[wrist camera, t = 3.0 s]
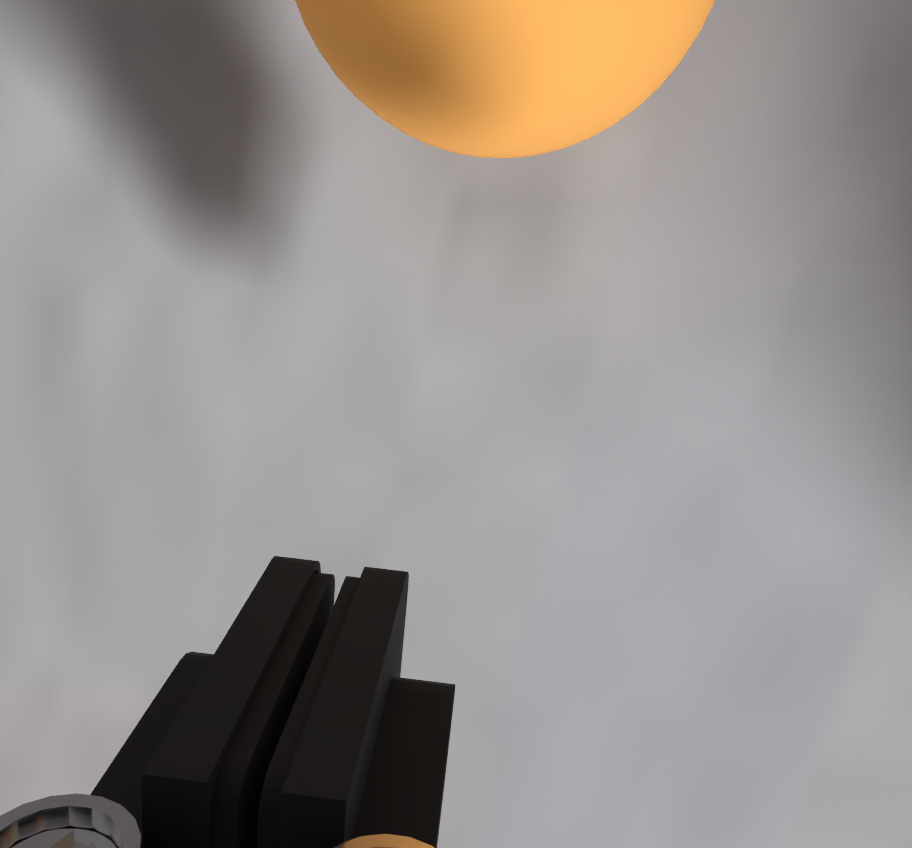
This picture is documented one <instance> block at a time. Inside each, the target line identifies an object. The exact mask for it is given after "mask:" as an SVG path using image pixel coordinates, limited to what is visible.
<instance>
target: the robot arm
mask: <svg viewBox="0 0 912 848" xmlns="http://www.w3.org/2000/svg"><path fill="white" fill-rule="evenodd" d="M408 578H409V575H408V572H404V571H396V570H387V569H379V568H370V567H365V568H364V570H363V572H362V575H361V577H360V578H357V577H349V576H346V578H345V580H344V582H343V585H342V587H341V590H340V592H339V595H338V597H337V600H336V602H335V604H334V591H335V577H334V575H332V574H324V573H321V569H320V563H319V561H312V560H303V559H295V558H287V557H278V556H274V557H273V559H272V560H271V562H270V563H269V565H268V566H267V568H266V570H265V571H264V573H263V575H262V576H261V578H260V580H259V581H258V583H257V585H256V586H255V588H254V590H253V591H252V593H251V594H250V596H249V598H248V599H247V601H246V603H245V604H244V606H243V608H242V609H241V611H240V613H239V614H238V616H237V618H236V619H235V621H234V622H233V624H232V626H231V627H230V629H229V631H228V632H227V634H226V636H225V637H224V639H223V641H222V642H221V644H220V646H219V647H218V649H217V651H216V652H215V654H214V655H213V654H205V653H197V652H190V653H186V654H185V655H184V657H183V658H182V659H181V660H180V661H179V663H178V664H177V666H176V667H175V669H174V670H173V672H172V673H171V675H170V676H169V678H168V679H167V681H166V682H165V684H164V685H163V687H162V688H161V690H160V691H159V693H158V694H157V696H156V697H155V699H154V700H153V702H152V703H151V705H150V706H149V708H148V709H147V711H146V712H145V714H144V715H143V717H142V718H141V720H140V721H139V723H138V724H137V726H136V727H135V729H134V730H133V732H132V733H131V735H130V736H129V738H128V739H127V741H126V742H125V744H124V745H123V747H122V748H121V750H120V751H119V753H118V754H117V756H116V757H115V759H114V760H113V762H112V763H111V765H110V766H109V768H108V769H107V771H106V772H105V774H104V775H103V777H102V778H101V780H100V781H99V783H98V784H97V786H96V787H95V789H94V790H93V792H92V793H91V795H85V794H68V795H57V796H49V797H46V798H43V799H39V800H36V801H32V802H29V803H25V804H23V805H21V806H19V807H17V808H15V809H13V810H11V811H9V812H7V813H5V814H3V815H1V816H0V848H437V842H438V834H439V825H440V817H441V808H442V800H443V791H444V782H445V773H446V765H447V756H448V747H449V738H450V729H451V720H452V711H453V702H454V693H455V684H447V683H439V682H431V681H423V680H415V679H406V678H400V672H401V661H402V649H403V638H404V627H405V616H406V604H407V593H408Z"/></svg>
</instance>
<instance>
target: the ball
mask: <svg viewBox="0 0 912 848" xmlns="http://www.w3.org/2000/svg"><path fill="white" fill-rule="evenodd" d="M295 1H296V3H297V6H298V8H299V11H300V14H301V16H302V19H303V21H304V24H305V26H306V28H307V29H308V31H309V33H310V35H311V37H312V39H313V41H314V43H315V44H316V46H317V48H318V50H319V52H320V53H321V54H322V56H323V57H324V59H325V60H326V62H327V63H328V64H329V66H330V67H331V69H332V70H333V72H334V73H335V75H336V76H337V77H338V78H339V79H340V80H341V81H342V82H343V83H344V84H345V86H346V87H347V88H348V89H349V90H350V91H351V92H352V93H353V94H354V96H355V97H357V98H358V99H359V100H360V101H361V102H362V103H364V104H365V105H366V106H367V107H368V108H369V109H371V110H372V111H373V112H374V113H375V114H376V115H378V116H379V117H380V118H382V119H383V120H385V121H386V122H388V123H390V124H391V125H393V126H394V127H396V128H397V129H399V130H400V131H402V132H403V133H405V134H407V135H409V136H412V137H414V138H416V139H418V140H420V141H422V142H424V143H426V144H428V145H432V146H435V147H438V148H441V149H444V150H447V151H450V152H454V153H459V154H465V155H471V156H476V157H488V158H514V157H524V156H533V155H538V154H543V153H547V152H551V151H555V150H559V149H563V148H565V147H568V146H570V145H573V144H576V143H578V142H581V141H583V140H586V139H588V138H590V137H592V136H594V135H596V134H598V133H599V132H601V131H603V130H605V129H607V128H608V127H610V126H612V125H614V124H615V123H617V122H618V121H619V120H621V119H622V118H624V117H625V116H626V115H628V114H629V113H630V112H632V111H633V110H635V109H636V108H637V107H638V106H639V105H641V104H642V103H643V102H644V101H645V100H646V99H647V98H648V97H649V96H650V95H651V94H652V93H653V92H654V91H656V90H657V89H658V88H659V87H660V86H661V84H662V83H663V82H664V81H665V80H666V78H667V77H668V76H669V75H670V74H671V73H672V71H673V70H674V69H675V68H676V67H677V65H678V64H679V63H680V61H681V60H682V58H683V57H684V55H685V54H686V52H687V51H688V49H689V48H690V46H691V45H692V43H693V42H694V40H695V38H696V37H697V35H698V34H699V32H700V30H701V28H702V26H703V24H704V22H705V20H706V18H707V16H708V14H709V12H710V10H711V8H712V6H713V4H714V2H715V0H295Z"/></svg>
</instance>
